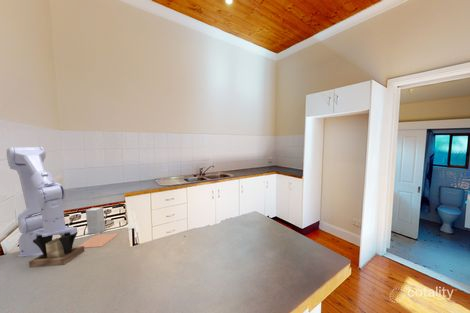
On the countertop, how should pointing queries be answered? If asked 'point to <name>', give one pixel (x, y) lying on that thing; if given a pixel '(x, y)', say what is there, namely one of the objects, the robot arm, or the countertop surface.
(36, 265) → the walnut pocket
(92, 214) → the skincare box
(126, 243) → the countertop surface
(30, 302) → the countertop surface
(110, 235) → the terracotta tile
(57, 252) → the maple block
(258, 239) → the countertop surface
